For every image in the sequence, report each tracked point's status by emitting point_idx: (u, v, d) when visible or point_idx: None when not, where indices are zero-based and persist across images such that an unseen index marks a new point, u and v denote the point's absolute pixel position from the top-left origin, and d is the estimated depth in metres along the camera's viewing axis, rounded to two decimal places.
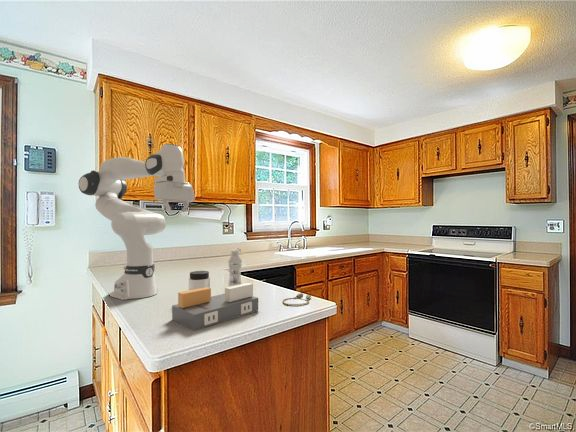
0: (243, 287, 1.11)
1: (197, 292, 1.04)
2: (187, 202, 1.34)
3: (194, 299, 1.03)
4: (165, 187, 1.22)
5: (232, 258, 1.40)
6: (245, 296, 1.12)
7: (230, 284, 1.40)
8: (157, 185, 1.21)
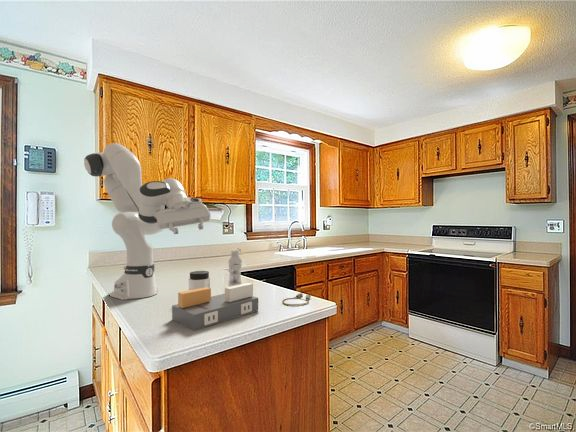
0: (243, 287, 1.11)
1: (197, 292, 1.04)
2: None
3: (194, 299, 1.03)
4: None
5: (232, 258, 1.40)
6: (245, 296, 1.12)
7: (230, 284, 1.40)
8: None
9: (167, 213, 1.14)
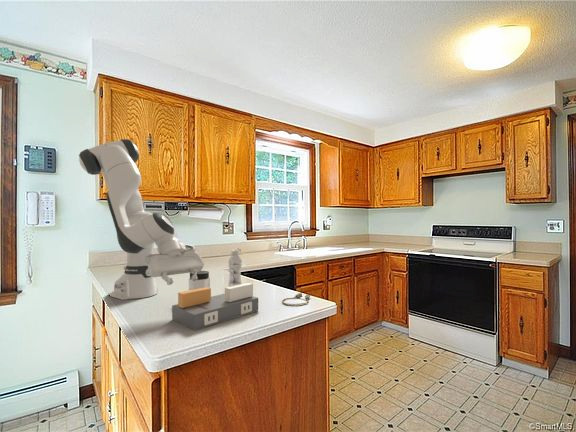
0: (243, 287, 1.11)
1: (197, 292, 1.04)
2: None
3: (194, 299, 1.03)
4: None
5: (232, 258, 1.40)
6: (245, 296, 1.12)
7: (230, 284, 1.40)
8: None
9: (161, 260, 1.07)
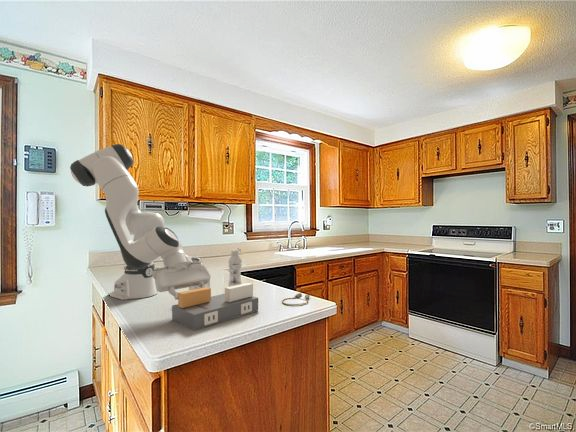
0: (243, 287, 1.11)
1: (197, 292, 1.04)
2: None
3: (194, 299, 1.03)
4: None
5: (232, 258, 1.40)
6: (245, 296, 1.12)
7: (230, 284, 1.40)
8: None
9: (168, 274, 1.06)
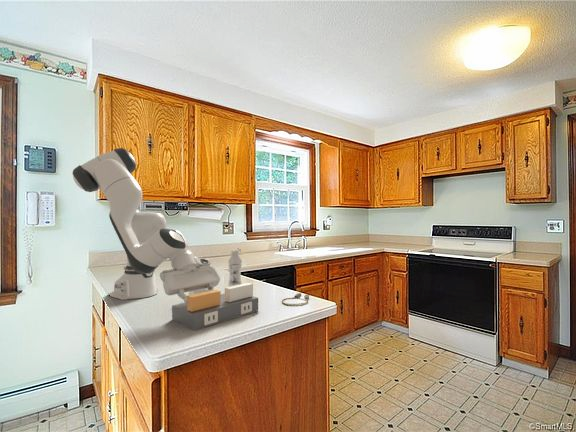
0: (243, 287, 1.11)
1: (207, 295, 1.00)
2: None
3: (203, 302, 0.99)
4: None
5: (232, 258, 1.40)
6: (245, 296, 1.12)
7: (230, 284, 1.40)
8: None
9: (176, 277, 1.01)
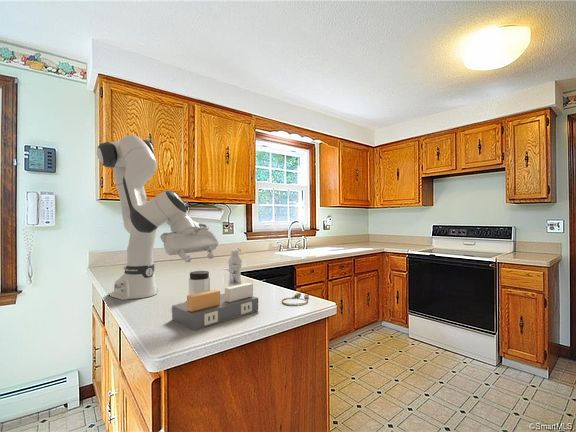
0: (243, 287, 1.11)
1: (206, 295, 1.00)
2: None
3: (203, 302, 0.99)
4: None
5: (232, 258, 1.40)
6: (245, 296, 1.12)
7: (230, 284, 1.40)
8: None
9: (177, 238, 1.05)
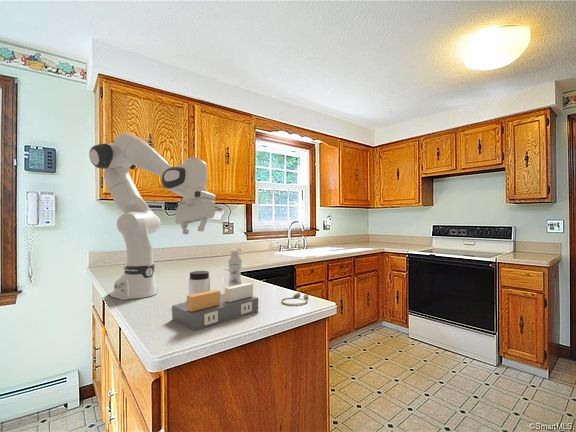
0: (243, 287, 1.11)
1: (206, 295, 1.00)
2: None
3: (203, 302, 0.99)
4: None
5: (232, 258, 1.40)
6: (245, 296, 1.12)
7: (230, 284, 1.40)
8: (210, 201, 1.09)
9: (182, 210, 1.16)
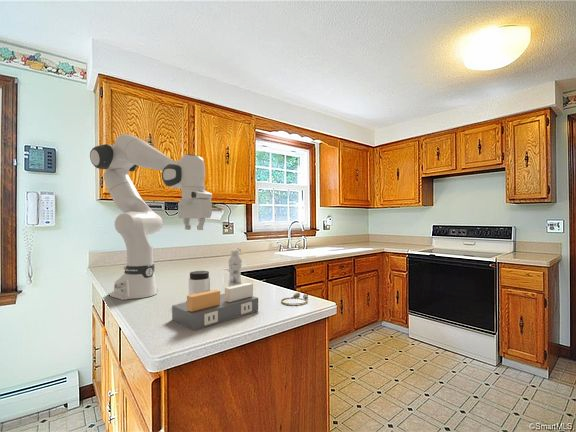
0: (243, 287, 1.11)
1: (206, 295, 1.00)
2: None
3: (203, 302, 0.99)
4: None
5: (232, 258, 1.40)
6: (245, 296, 1.12)
7: (230, 284, 1.40)
8: (206, 202, 1.11)
9: (183, 206, 1.20)
